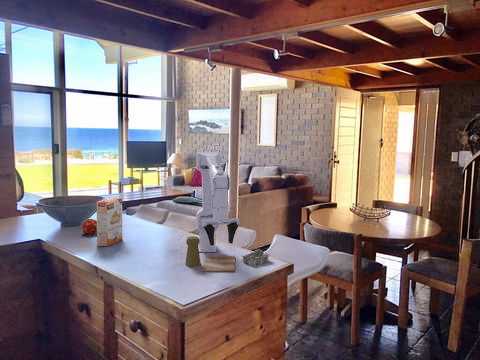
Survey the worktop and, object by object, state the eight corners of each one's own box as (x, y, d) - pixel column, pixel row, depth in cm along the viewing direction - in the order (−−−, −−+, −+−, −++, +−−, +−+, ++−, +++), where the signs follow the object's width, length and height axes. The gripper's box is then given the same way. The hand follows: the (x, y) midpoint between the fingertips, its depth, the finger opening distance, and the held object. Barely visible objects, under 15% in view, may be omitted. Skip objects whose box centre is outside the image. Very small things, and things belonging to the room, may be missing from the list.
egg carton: (260, 257, 163) (260, 248, 163) (271, 262, 157) (272, 252, 157) (239, 262, 157) (239, 252, 156) (250, 266, 151) (251, 256, 150)
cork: (201, 261, 156) (201, 235, 155) (200, 266, 150) (200, 238, 149) (186, 261, 156) (185, 235, 155) (184, 266, 150) (184, 238, 149)
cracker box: (108, 247, 176) (107, 201, 174) (96, 246, 178) (95, 201, 175) (123, 239, 190) (122, 197, 188) (112, 238, 191) (111, 197, 189)
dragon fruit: (87, 234, 207) (97, 241, 199) (74, 227, 201) (84, 234, 193) (96, 220, 209) (107, 227, 201) (84, 213, 203) (94, 220, 195)
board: (206, 257, 162) (206, 255, 162) (235, 257, 162) (235, 256, 162) (202, 271, 144) (202, 270, 144) (234, 272, 144) (234, 270, 144)
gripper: (206, 209, 137) (207, 247, 137) (242, 207, 143) (243, 243, 143) (199, 208, 143) (200, 244, 143) (234, 206, 150) (235, 241, 149)
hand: (221, 244), depth 143 cm, fingers open, 7 cm apart
